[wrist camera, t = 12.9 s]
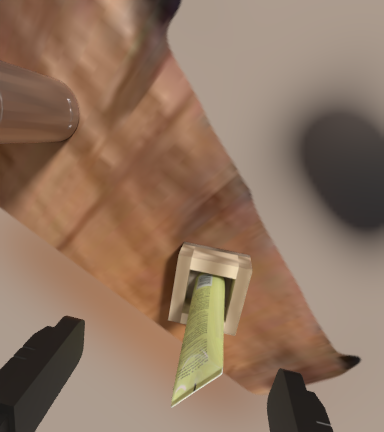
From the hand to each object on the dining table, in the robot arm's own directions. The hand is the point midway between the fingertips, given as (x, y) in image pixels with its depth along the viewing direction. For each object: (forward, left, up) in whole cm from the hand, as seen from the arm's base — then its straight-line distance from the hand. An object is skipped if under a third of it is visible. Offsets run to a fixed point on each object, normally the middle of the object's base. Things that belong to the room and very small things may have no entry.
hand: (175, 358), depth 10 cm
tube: (+2, -15, -31) cm, 34 cm away
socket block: (+2, -15, -31) cm, 35 cm away
